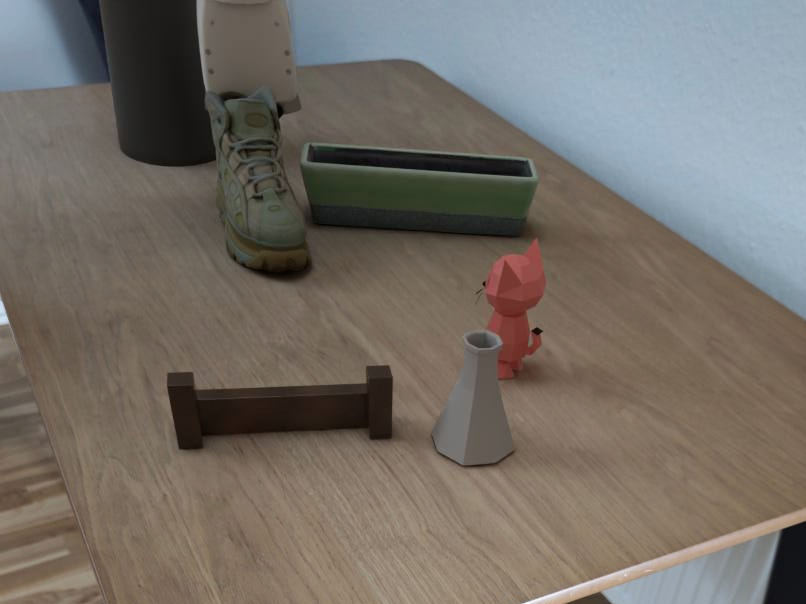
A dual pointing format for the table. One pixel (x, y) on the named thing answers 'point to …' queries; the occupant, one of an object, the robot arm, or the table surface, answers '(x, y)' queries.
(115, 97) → the vase
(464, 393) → the flask
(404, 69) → the table surface
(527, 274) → the cat figurine
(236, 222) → the sneaker
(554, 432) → the table surface
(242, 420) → the wooden hurdle
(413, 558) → the table surface
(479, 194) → the planter
